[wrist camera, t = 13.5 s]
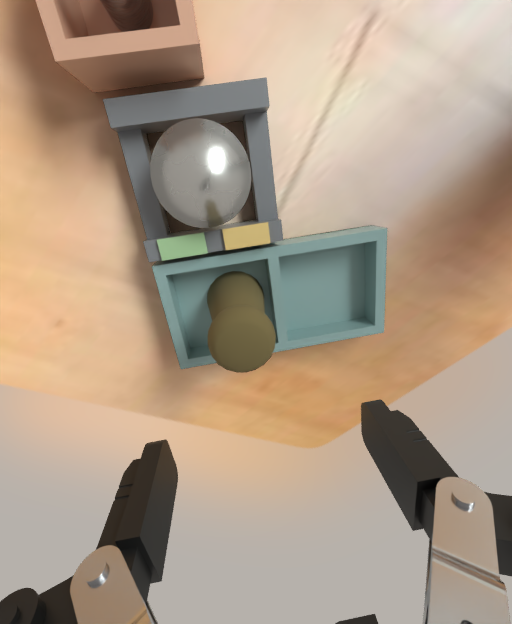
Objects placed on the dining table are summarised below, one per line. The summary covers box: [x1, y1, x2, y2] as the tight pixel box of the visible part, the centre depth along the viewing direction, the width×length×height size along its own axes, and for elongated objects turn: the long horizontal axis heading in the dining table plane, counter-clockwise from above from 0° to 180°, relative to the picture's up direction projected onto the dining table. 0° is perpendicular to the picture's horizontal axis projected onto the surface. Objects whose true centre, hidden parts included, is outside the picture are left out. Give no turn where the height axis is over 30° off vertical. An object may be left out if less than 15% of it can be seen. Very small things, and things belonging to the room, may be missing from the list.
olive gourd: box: [207, 271, 276, 372], centre depth 26 cm, size 6×6×11 cm
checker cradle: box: [103, 78, 283, 262], centre depth 25 cm, size 12×12×4 cm
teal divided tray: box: [152, 225, 387, 369], centre depth 30 cm, size 22×11×3 cm, turn 98°
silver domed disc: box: [150, 118, 251, 228], centre depth 24 cm, size 8×8×4 cm
